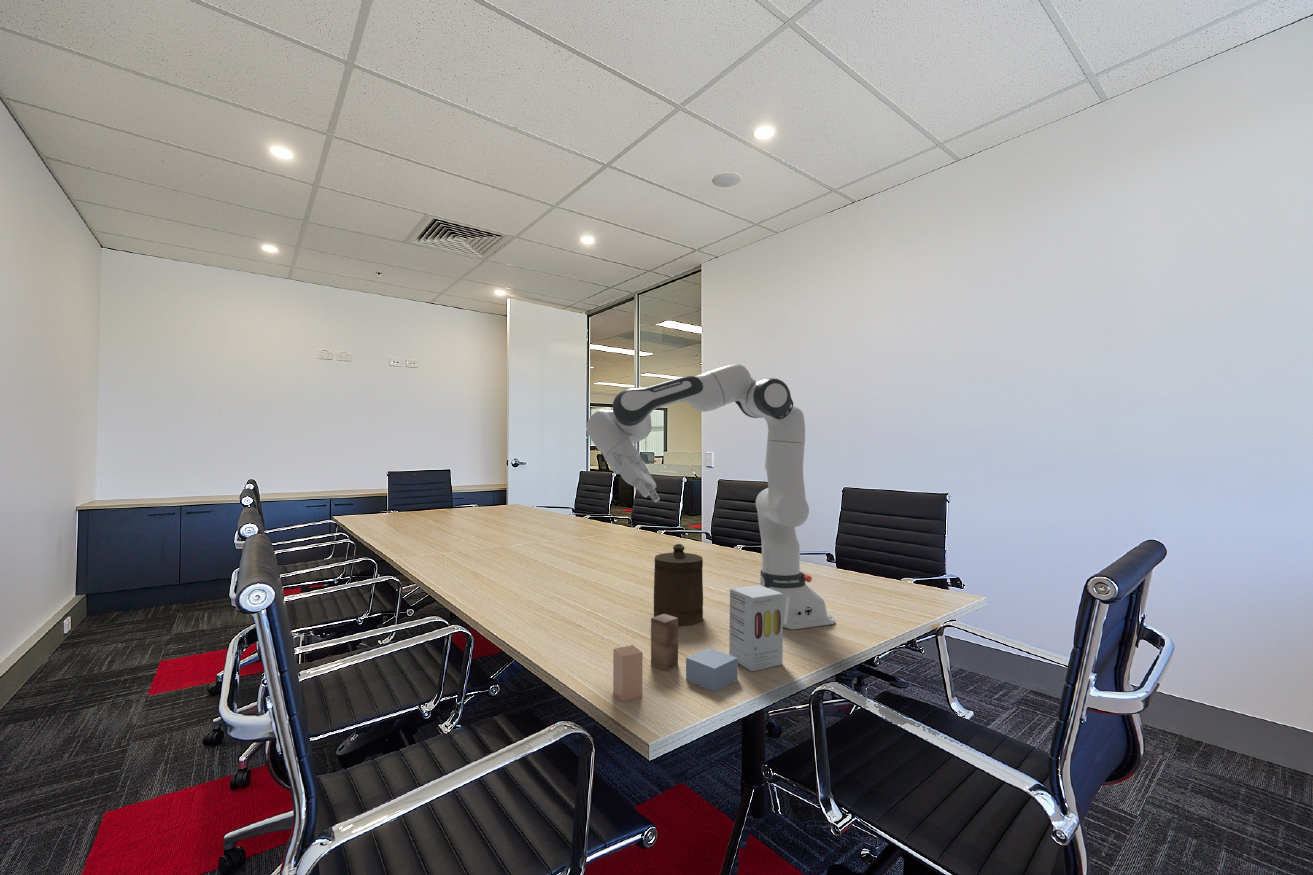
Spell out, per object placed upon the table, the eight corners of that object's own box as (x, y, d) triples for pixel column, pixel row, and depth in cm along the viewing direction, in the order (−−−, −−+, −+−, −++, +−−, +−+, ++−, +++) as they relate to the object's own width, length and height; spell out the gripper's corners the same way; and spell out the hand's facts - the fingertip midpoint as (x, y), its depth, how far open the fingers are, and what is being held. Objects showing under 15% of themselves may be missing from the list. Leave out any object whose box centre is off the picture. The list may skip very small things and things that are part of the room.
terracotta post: (632, 687, 109) (632, 644, 110) (642, 696, 105) (642, 652, 106) (613, 692, 107) (613, 648, 107) (622, 701, 103) (622, 656, 103)
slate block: (709, 669, 119) (709, 647, 119) (737, 680, 113) (737, 657, 113) (686, 680, 113) (686, 657, 113) (714, 692, 108) (714, 668, 108)
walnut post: (663, 659, 124) (663, 613, 124) (677, 665, 121) (678, 617, 121) (650, 665, 121) (651, 618, 121) (665, 671, 118) (665, 622, 118)
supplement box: (751, 672, 117) (751, 597, 117) (727, 657, 125) (727, 588, 125) (784, 664, 121) (784, 592, 122) (759, 650, 130) (759, 583, 130)
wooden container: (696, 608, 163) (696, 539, 164) (708, 624, 149) (708, 548, 149) (650, 611, 161) (650, 540, 162) (658, 627, 146) (658, 549, 147)
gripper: (620, 443, 133) (650, 484, 128) (644, 460, 152) (671, 496, 147) (601, 458, 134) (630, 499, 129) (627, 473, 153) (653, 510, 148)
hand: (652, 498), depth 138 cm, fingers open, 8 cm apart
